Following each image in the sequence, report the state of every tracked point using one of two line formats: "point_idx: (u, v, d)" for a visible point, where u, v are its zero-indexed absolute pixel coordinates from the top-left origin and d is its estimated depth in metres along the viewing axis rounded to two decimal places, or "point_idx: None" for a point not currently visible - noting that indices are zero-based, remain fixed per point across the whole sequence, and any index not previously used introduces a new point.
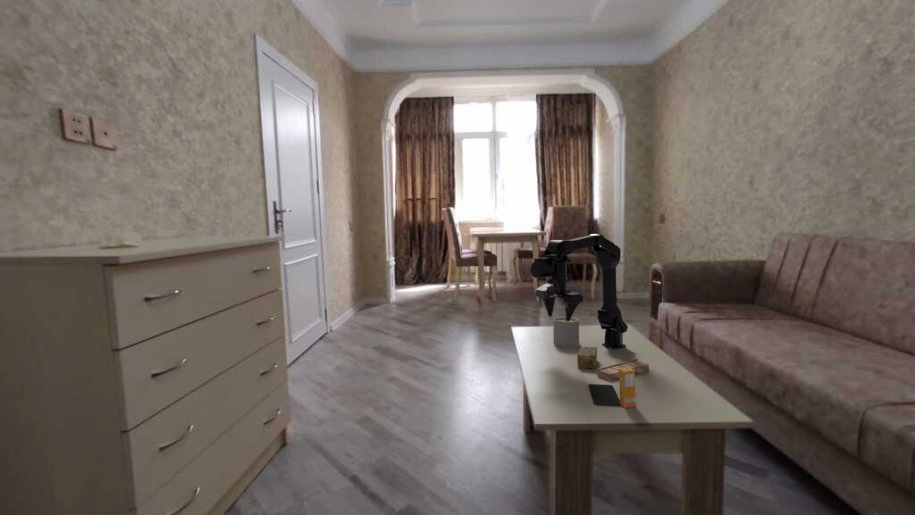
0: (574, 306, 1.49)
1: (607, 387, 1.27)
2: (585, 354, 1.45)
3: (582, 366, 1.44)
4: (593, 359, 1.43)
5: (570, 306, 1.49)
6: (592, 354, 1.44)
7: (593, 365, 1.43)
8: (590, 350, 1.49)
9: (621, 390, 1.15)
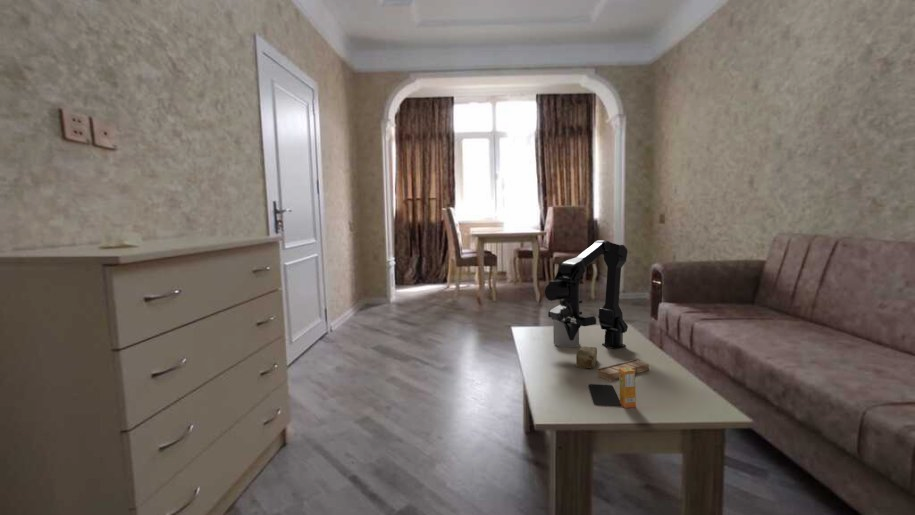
0: (578, 326, 1.54)
1: (607, 387, 1.27)
2: (584, 354, 1.45)
3: (581, 366, 1.44)
4: (592, 359, 1.43)
5: (574, 326, 1.54)
6: (591, 354, 1.44)
7: (592, 365, 1.43)
8: (589, 350, 1.49)
9: (621, 390, 1.15)
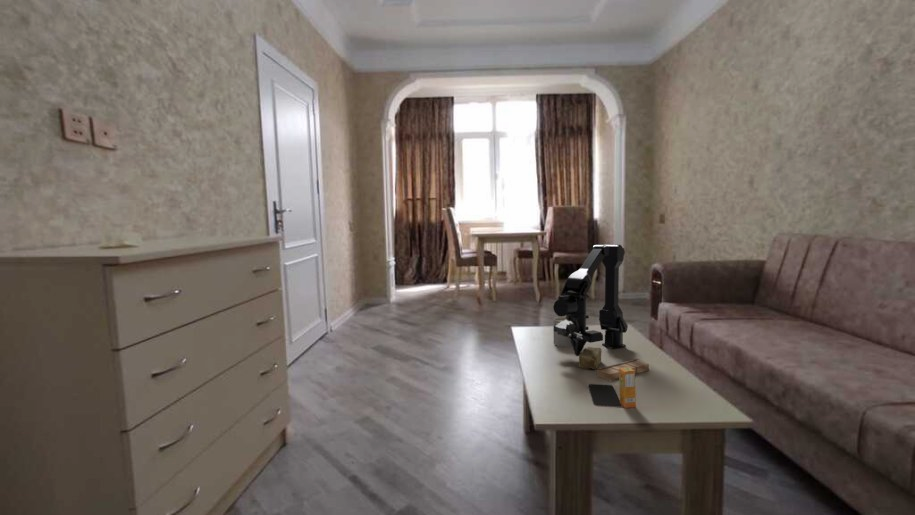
0: (584, 341, 1.52)
1: (607, 387, 1.27)
2: (587, 354, 1.44)
3: (583, 366, 1.44)
4: (594, 360, 1.42)
5: (580, 341, 1.51)
6: (594, 355, 1.43)
7: (594, 366, 1.42)
8: (593, 351, 1.47)
9: (621, 390, 1.15)
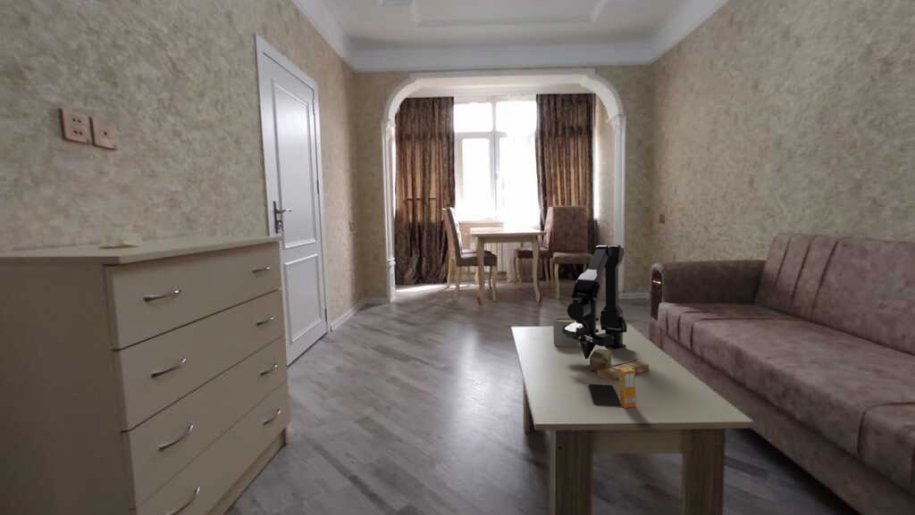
0: (593, 344, 1.48)
1: (607, 387, 1.27)
2: (598, 357, 1.42)
3: (594, 369, 1.41)
4: (606, 362, 1.40)
5: (589, 344, 1.48)
6: (605, 357, 1.41)
7: None
8: (603, 353, 1.45)
9: (621, 390, 1.15)
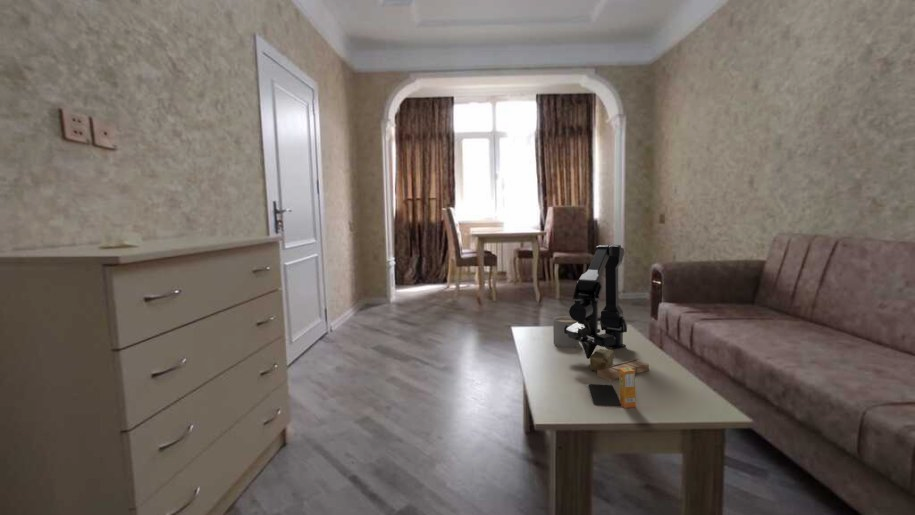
0: (595, 344, 1.48)
1: (607, 387, 1.27)
2: (598, 356, 1.42)
3: (594, 368, 1.41)
4: (606, 362, 1.40)
5: (591, 344, 1.48)
6: (605, 357, 1.41)
7: None
8: (605, 353, 1.45)
9: (621, 390, 1.15)
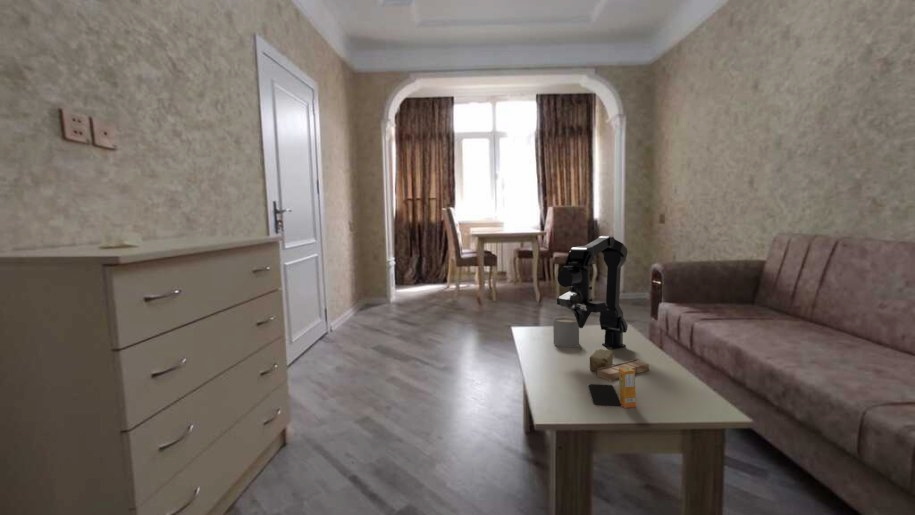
0: (588, 313, 1.50)
1: (607, 387, 1.27)
2: (598, 357, 1.42)
3: (594, 369, 1.41)
4: (605, 362, 1.40)
5: (584, 313, 1.50)
6: (605, 357, 1.41)
7: None
8: (604, 353, 1.45)
9: (621, 390, 1.15)
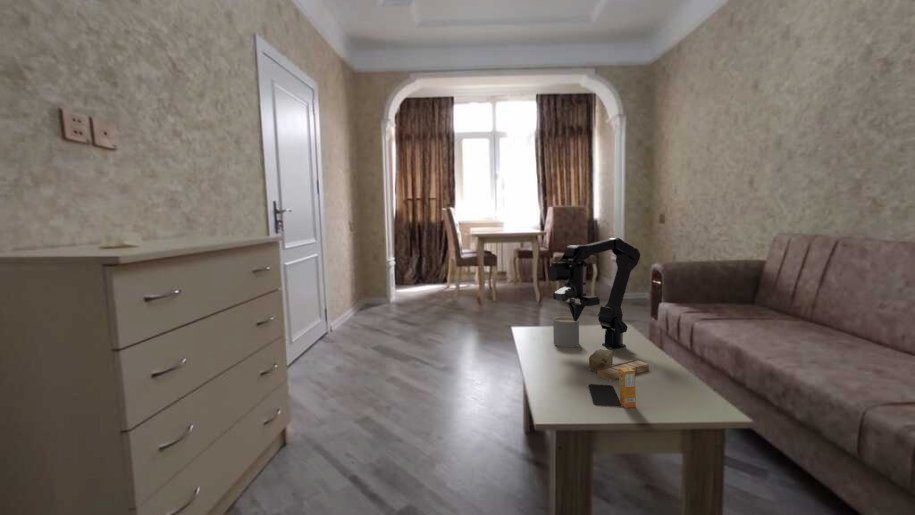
0: (582, 307, 1.60)
1: (607, 387, 1.27)
2: (597, 357, 1.42)
3: (593, 369, 1.41)
4: (604, 362, 1.40)
5: (578, 307, 1.60)
6: (604, 357, 1.41)
7: None
8: (604, 353, 1.45)
9: (621, 390, 1.15)
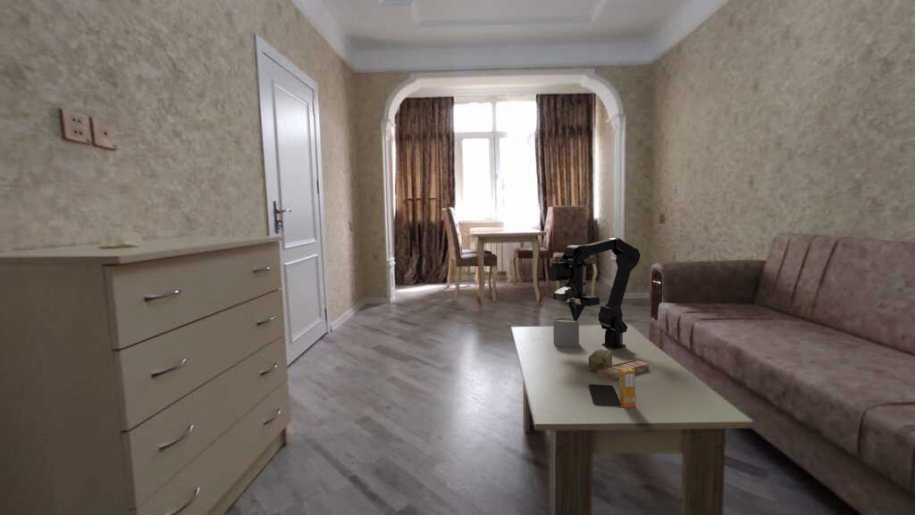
0: (582, 307, 1.60)
1: (607, 387, 1.27)
2: (596, 357, 1.42)
3: (593, 369, 1.41)
4: (604, 362, 1.40)
5: (578, 307, 1.60)
6: (604, 357, 1.41)
7: None
8: (603, 353, 1.45)
9: (621, 390, 1.15)
